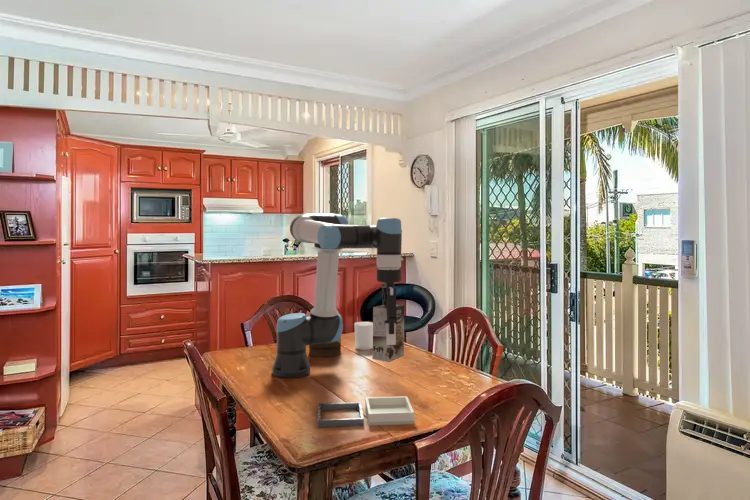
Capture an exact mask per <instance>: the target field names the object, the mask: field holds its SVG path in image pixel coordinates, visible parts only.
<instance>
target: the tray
mask: <svg viewBox="0 0 750 500" xmlns="http://www.w3.org/2000/svg"><path fill="white" fill-rule="evenodd" d="M364 405H365V407H364V408H365V414H366V418H367V424H368V426H369V427H370V426H393V425H395V426H396V425H398V426H399V425H415V411H414V408H413V407H412V404H411V401H410V400H409V398H408V396H407V395H404V396H402V395H400V396H397V395H396V396H374V397H373V396H372V397H371V396H370V397H369V396H366V397H365V404H364Z"/></svg>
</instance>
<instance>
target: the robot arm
mask: <svg viewBox="0 0 750 500" xmlns="http://www.w3.org/2000/svg"><path fill="white" fill-rule="evenodd" d="M289 233H290V235H291V236H292V239H294V240H295V241H296V242H300V243H305V244H314V246H313V247H314V248H315V249H316V251H317V258H316V259H317V260H316V276H315V292H314V307H313V308H312V309H310V313H309V314H310V315H309V316H307V315H306V313H303V312H296V313H287V314H284V315H282V316H280V317H279V318H278V319H277V321H276V329H275V331H276V355H275V359H274V362H273V364H272V370H271V371H272V373H271V374H272V375H273V376H274V377H277V378H285V379H293V378H295V379H296V378H300V377H304V376H307V375H309V374H310V373H311V364H310V361H309V358H308V355H307V346H309V345H313V344H322V343H330V342H335V341H337V340H338V339H339V338H340V337H341V338H342V334H343V330H344V323H343V317H342V315H341V316H340V315H339V314H340V312H339V311H338V309H337V308H336V302H337V285H338V274H339V273H338V272H339V259H340V252H341V251H342V250H343V249H344V250H345V249H346V250H347V249H376V268H378V269H377V270H376V281H377V282H380V283H382V285H381V292H382V295H381V297H382V303H381V304H382V305H385V304H386V308H387V320H385V323H386V345H396V322H397V314H396V304H397V288H396V287H395V285H394V283H400V282H401V281H402V270H401V267H402V261H404V258H403V257H402V244H403V243H402V238H403V237H402V234H403V230H402V220H401V219H400V218H398V217H397V218H396V217H380V218H378V219H377V221H376V224H349V223H348V220H347V218H346V217H345V216H344V215H343V214H339V213H303V214H300V215H298V216H296V217H295V218H293V220H292V221H291V223H290V225H289ZM338 313H339V314H338Z"/></svg>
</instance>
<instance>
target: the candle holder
mask: <svg viewBox="0 0 750 500" xmlns="http://www.w3.org/2000/svg"><path fill="white" fill-rule="evenodd" d="M353 323H354V338H355V339H354V340H355V349H357V350H360V351H361V350H363V351H369V350H371V349H372V350H373V321H357V322H356V321H355V322H353Z"/></svg>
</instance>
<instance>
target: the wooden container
mask: <svg viewBox="0 0 750 500" xmlns="http://www.w3.org/2000/svg"><path fill="white" fill-rule="evenodd" d="M338 314H339V315H340V316H341V317H342V314H341V313H340V312H339V313H338ZM308 346H309V347H308V349H309V351H308V353H309V355H312V356H314V357H323V358H326V357H327V358H329V357H335V356H337V355H340V354H341V351H342V349H341V348H342V347H341V346H342V336H341V337H340V338H339V339H338V340H337V341H335V342H330V343H322V344H313V345H308Z"/></svg>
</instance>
